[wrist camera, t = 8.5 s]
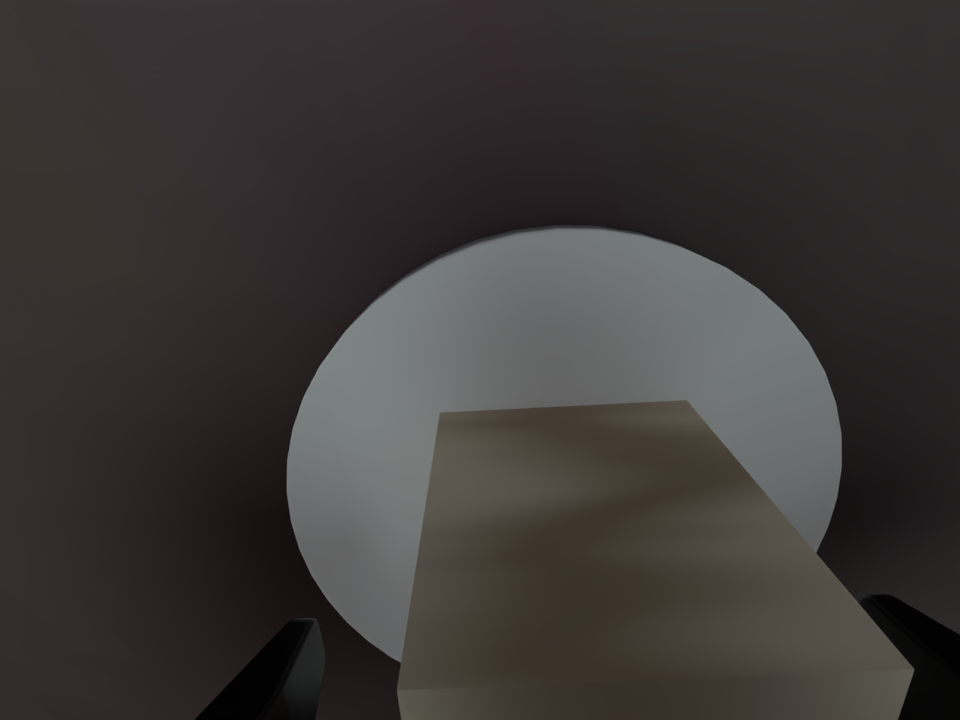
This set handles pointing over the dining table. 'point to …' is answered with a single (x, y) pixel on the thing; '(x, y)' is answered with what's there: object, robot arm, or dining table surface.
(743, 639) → the block
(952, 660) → the robot arm
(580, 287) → the pale round disc
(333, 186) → the dining table surface
